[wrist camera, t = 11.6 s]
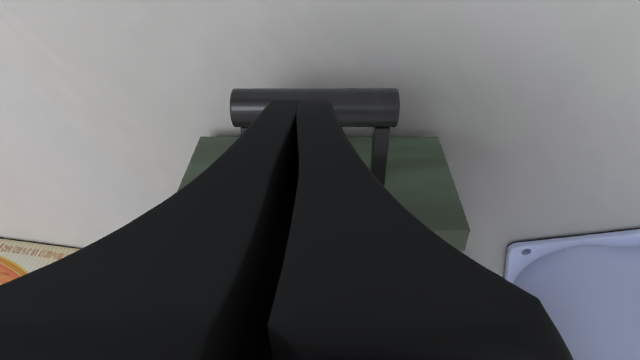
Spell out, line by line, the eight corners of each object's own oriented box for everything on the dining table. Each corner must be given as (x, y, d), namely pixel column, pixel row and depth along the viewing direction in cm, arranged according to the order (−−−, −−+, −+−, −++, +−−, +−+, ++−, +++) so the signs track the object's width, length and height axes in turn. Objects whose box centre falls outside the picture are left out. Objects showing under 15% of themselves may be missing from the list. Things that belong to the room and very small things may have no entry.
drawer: (182, 52, 19) (129, 131, 14) (453, 51, 19) (497, 131, 14) (234, 297, 29) (214, 393, 24) (408, 299, 29) (425, 396, 24)
